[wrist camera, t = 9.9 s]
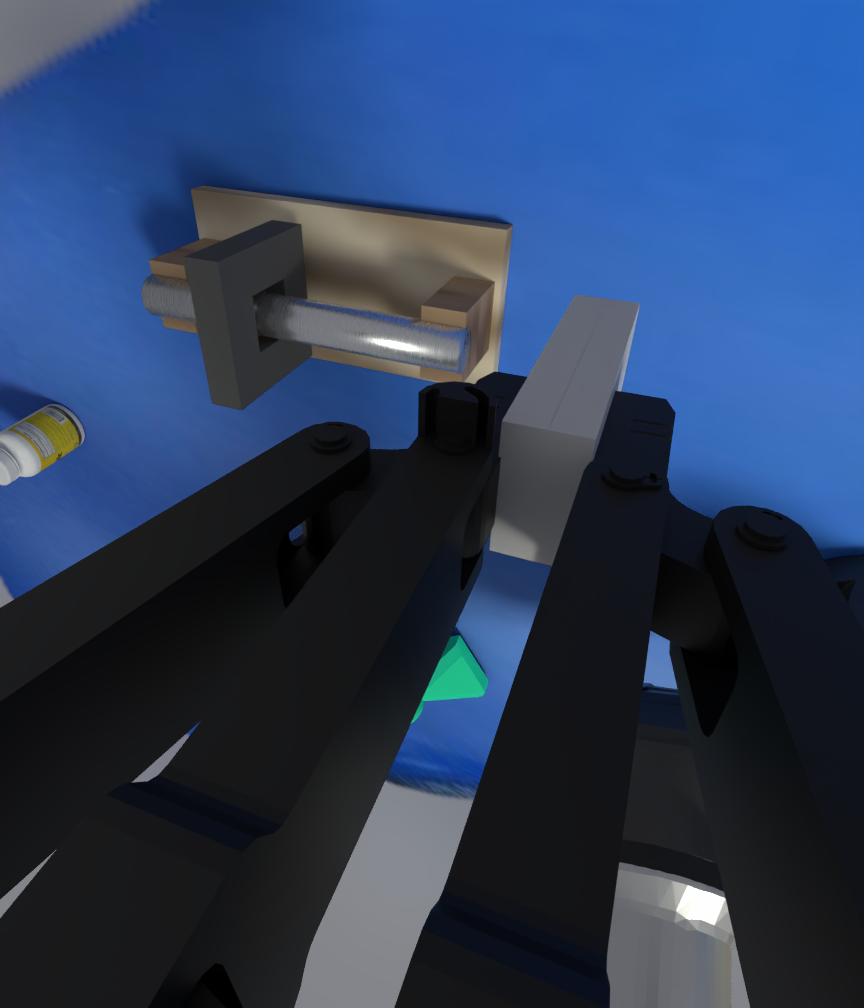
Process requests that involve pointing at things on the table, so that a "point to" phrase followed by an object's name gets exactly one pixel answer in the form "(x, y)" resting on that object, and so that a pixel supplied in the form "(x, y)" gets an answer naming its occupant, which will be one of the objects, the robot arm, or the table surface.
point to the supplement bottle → (38, 442)
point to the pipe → (330, 326)
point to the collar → (246, 309)
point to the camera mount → (455, 675)
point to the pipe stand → (375, 267)
